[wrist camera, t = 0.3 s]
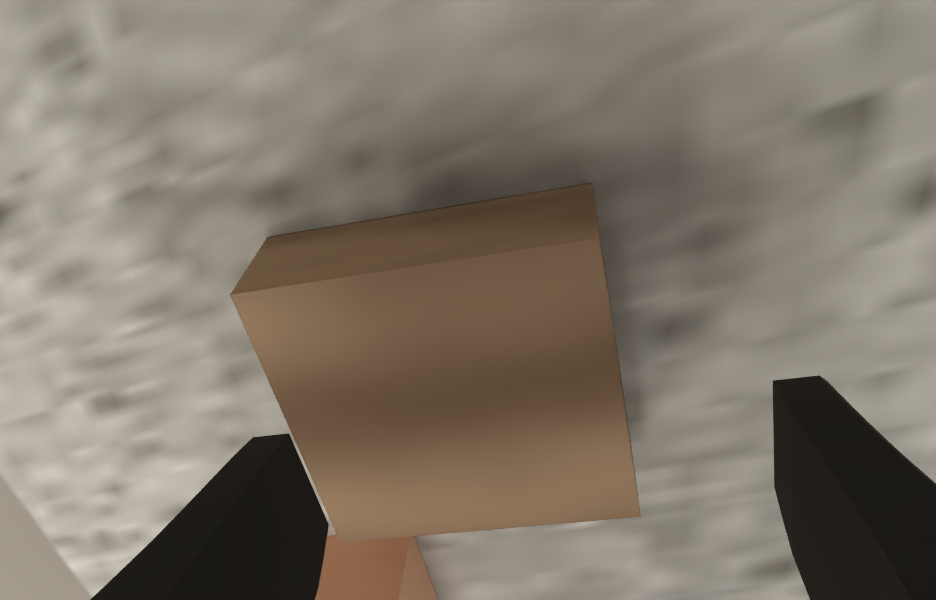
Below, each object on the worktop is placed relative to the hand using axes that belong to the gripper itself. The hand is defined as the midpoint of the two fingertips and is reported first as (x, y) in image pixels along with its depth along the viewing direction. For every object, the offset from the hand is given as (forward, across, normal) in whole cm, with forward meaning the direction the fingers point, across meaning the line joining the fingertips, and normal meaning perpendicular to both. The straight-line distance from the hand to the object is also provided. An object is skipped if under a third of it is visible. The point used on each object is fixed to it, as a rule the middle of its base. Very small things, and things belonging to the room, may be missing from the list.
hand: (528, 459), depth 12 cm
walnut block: (+10, +3, +5) cm, 11 cm away
